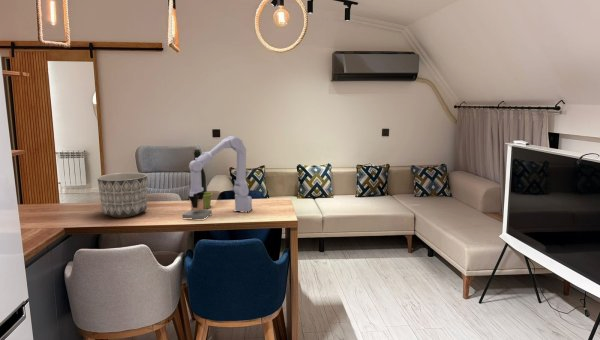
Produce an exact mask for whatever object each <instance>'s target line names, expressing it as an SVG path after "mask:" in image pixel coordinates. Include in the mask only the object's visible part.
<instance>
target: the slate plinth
mask: <svg viewBox="0 0 600 340" xmlns="http://www.w3.org/2000/svg"><path fill="white" fill-rule="evenodd" d="M212 211H213V210H210V209H201V210H191V209H190V210H188V211H186V212H184V213H183V214H182V219H183V218H192V219H204V218H206V217H207V216H209V215H210V214H213V212H212ZM210 216H211V215H210ZM210 216H209V217H210ZM207 218H208V217H207ZM207 218H206V219H207ZM204 220H205V219H204Z"/></svg>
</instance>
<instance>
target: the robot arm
mask: <svg viewBox="0 0 600 340" xmlns="http://www.w3.org/2000/svg"><path fill="white" fill-rule="evenodd" d="M224 149H232V150H234V151H235V152H236V176H235V177H236V179H235V181H234V185H233V188H232V190H233V192H234V206H235V207H234V210H236V211H250V210H251V209H252V210H253V202H252V201H253V199H252V196H250V195H249V193H250V189H249V187H248V182H247V179H246V176H247V175H246V174H247V173H246V172H247V171H246V170H247V168H246V167H247V148H246V146H245V145H244V143H243V140H242V139H241V138H240V137H238V136H233V135H228V136H226V137H225V138H223V139H222V140H221V141H220V142H218V144H216V145H215V146H214V147H213V148H211V150H210V151H205V152H204V151H202V152H201V156H199V157H198V158H195V160H194V159H193V160H191V161H190V162H189V165H188V169H189V170H190V176H191V190H190V189H189V190H188V191H189V194H188V199H189V200H190V204H191V203H192V206H193V208H197V204H198V199H203V196H204V194H205V193H204V192H202V191H203V188H202V183H201V170H202V167H203V168H204V167H205V166H206V165H207V164H209V163H210V162H212V161H213V157H215V156H216V155H217V154H219V153H220V152H221V151H223V150H224ZM252 210H251V211H252ZM251 211H250V212H251Z"/></svg>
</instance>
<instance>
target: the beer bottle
mask: <svg viewBox="0 0 600 340" xmlns="http://www.w3.org/2000/svg"><path fill="white" fill-rule="evenodd" d="M201 155H202V152H201V149H198V148H195V149H194V150H193V161H194V160H195V158H198V157H199V156H201ZM189 183H190V184H189V185H190V188H189V190H191V176H190V177H189ZM201 183H202V188H203V191H202V192H208V185H207V174H206V172H205V168H204V166H203V167H202V170H201Z"/></svg>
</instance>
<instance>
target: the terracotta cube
mask: <svg viewBox="0 0 600 340" xmlns="http://www.w3.org/2000/svg"><path fill="white" fill-rule="evenodd" d="M190 208H191V209H190V210H204V209H203V208H204V206H203V199H198V204H197V208H193V206H192V203H191V202H190Z"/></svg>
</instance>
